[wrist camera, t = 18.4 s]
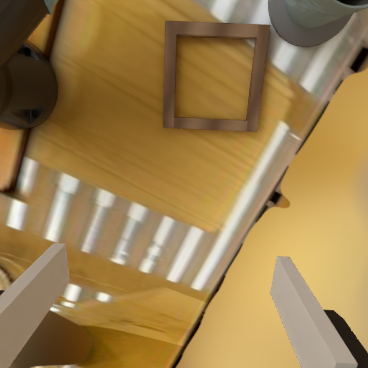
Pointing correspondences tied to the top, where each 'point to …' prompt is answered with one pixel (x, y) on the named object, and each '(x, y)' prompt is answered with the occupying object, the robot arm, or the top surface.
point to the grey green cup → (321, 10)
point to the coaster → (301, 34)
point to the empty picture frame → (215, 31)
